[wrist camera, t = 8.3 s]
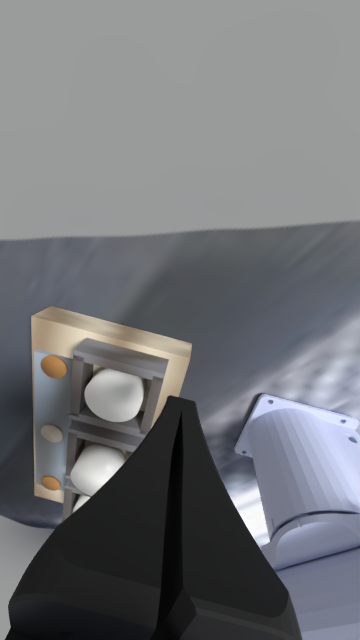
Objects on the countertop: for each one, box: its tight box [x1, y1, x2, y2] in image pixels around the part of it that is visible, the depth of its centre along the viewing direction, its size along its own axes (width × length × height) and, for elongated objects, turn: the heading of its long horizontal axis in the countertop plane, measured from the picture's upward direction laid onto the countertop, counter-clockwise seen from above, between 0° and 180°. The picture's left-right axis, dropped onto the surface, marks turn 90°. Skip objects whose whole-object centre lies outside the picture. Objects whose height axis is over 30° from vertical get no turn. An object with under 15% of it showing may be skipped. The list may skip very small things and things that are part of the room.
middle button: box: [70, 442, 127, 496], centre depth 20 cm, size 4×4×2 cm
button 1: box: [84, 367, 147, 422], centre depth 18 cm, size 4×4×2 cm
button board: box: [31, 306, 192, 522], centre depth 23 cm, size 13×24×4 cm, turn 166°
